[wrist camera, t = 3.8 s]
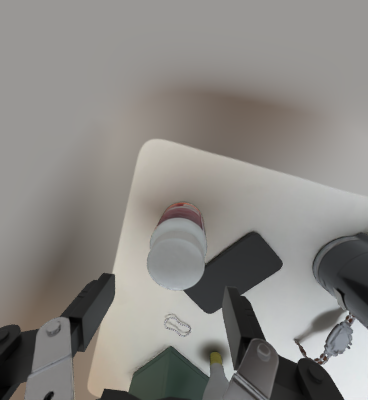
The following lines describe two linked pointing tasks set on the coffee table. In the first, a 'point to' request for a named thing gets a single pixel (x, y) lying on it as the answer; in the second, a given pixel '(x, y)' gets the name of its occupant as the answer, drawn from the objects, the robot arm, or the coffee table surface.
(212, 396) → the light bulb
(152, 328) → the coffee table surface
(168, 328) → the necklace
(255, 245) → the phone
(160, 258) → the pill bottle
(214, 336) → the coffee table surface
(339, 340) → the wristwatch
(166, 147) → the coffee table surface
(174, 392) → the waste bin
